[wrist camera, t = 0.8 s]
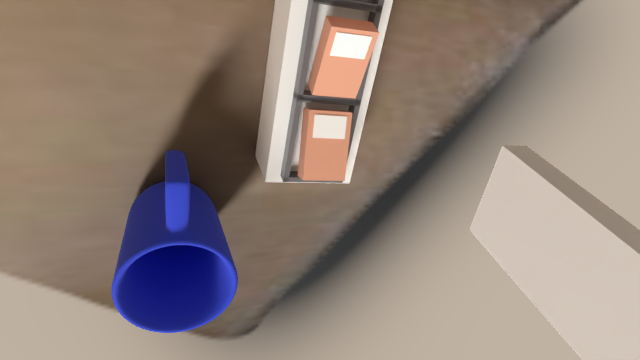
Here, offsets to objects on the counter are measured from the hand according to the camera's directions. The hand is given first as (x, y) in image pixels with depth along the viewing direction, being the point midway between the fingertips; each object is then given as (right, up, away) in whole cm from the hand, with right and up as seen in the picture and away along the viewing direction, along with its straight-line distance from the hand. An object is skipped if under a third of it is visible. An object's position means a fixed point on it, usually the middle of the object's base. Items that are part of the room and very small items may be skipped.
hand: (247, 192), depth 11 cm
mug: (-11, -1, +29) cm, 31 cm away
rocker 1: (+3, +9, +21) cm, 23 cm away
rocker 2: (+2, +3, +24) cm, 24 cm away
